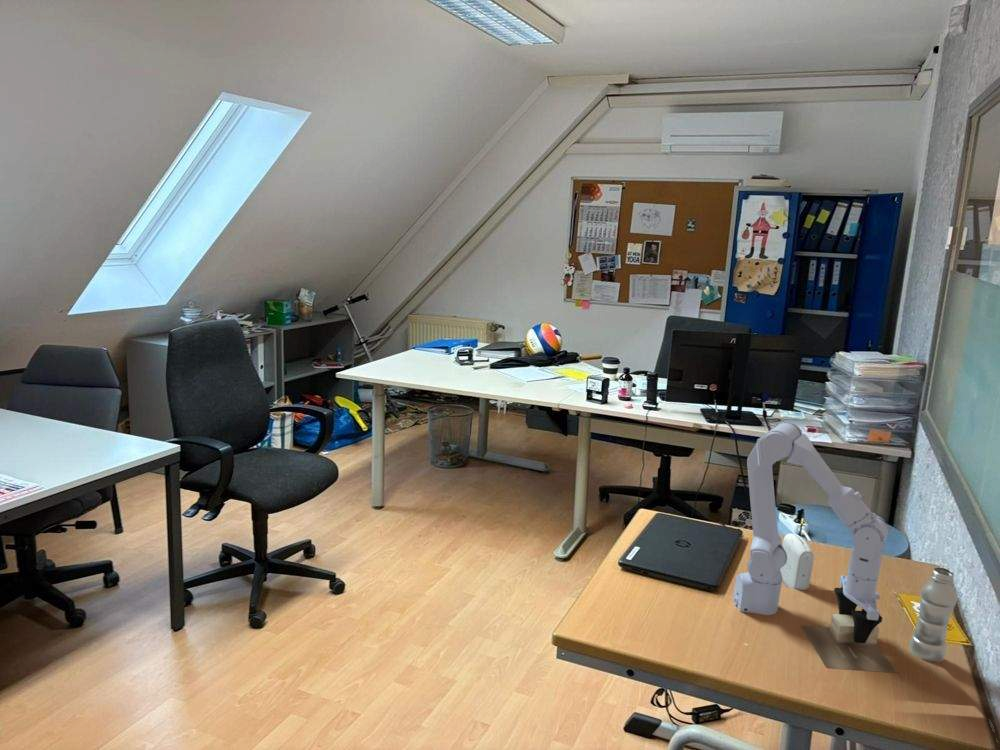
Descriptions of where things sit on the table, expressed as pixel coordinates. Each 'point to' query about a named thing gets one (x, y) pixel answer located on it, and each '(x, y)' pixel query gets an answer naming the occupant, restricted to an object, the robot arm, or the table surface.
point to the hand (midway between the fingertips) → (852, 631)
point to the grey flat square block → (846, 652)
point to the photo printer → (797, 562)
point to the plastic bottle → (934, 616)
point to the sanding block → (848, 630)
